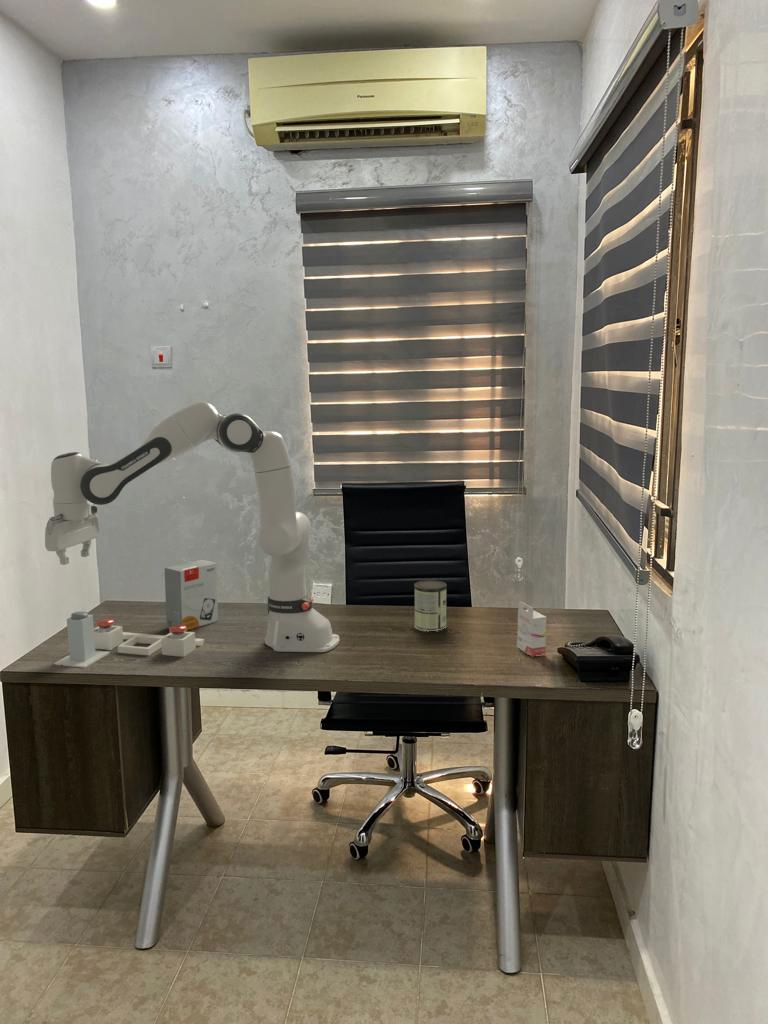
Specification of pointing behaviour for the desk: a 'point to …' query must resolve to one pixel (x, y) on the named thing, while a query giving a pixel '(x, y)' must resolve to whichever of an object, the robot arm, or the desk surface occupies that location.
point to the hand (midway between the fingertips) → (75, 560)
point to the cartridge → (81, 636)
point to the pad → (82, 664)
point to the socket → (147, 639)
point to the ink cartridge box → (531, 630)
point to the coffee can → (430, 605)
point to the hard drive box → (191, 594)
